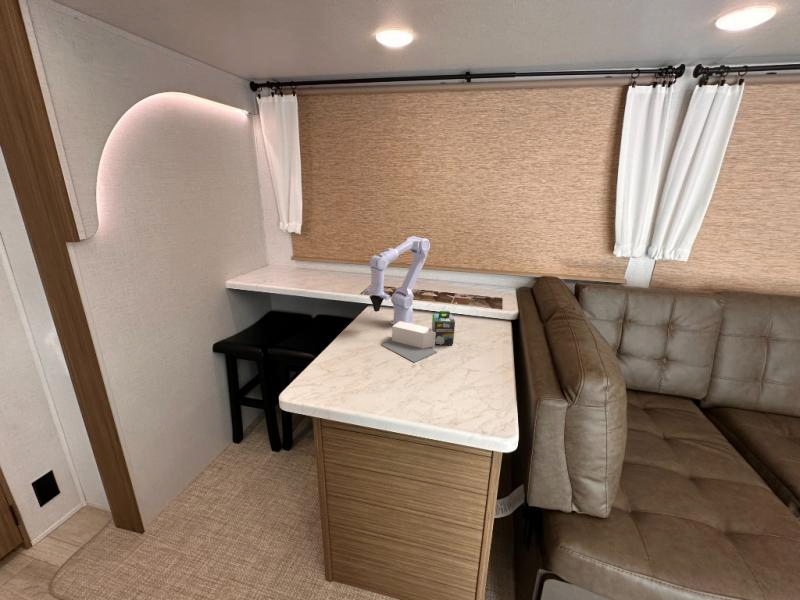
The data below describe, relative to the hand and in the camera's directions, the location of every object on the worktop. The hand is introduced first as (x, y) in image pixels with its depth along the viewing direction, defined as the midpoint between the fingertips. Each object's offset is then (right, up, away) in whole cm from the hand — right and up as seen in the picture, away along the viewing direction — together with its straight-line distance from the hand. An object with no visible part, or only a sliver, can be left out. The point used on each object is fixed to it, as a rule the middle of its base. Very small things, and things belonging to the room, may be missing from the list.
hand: (376, 310), depth 163 cm
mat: (+15, -16, -13) cm, 25 cm away
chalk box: (+30, -14, -4) cm, 33 cm away
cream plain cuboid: (+8, -9, -5) cm, 13 cm away
